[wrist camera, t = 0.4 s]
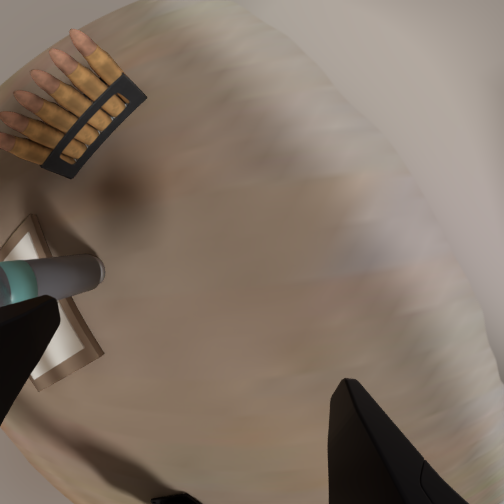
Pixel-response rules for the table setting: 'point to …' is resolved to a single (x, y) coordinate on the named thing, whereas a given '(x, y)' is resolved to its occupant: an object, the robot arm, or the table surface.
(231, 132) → the table surface
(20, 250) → the writing board
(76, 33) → the ammunition clip
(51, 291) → the teal hollow cylinder
